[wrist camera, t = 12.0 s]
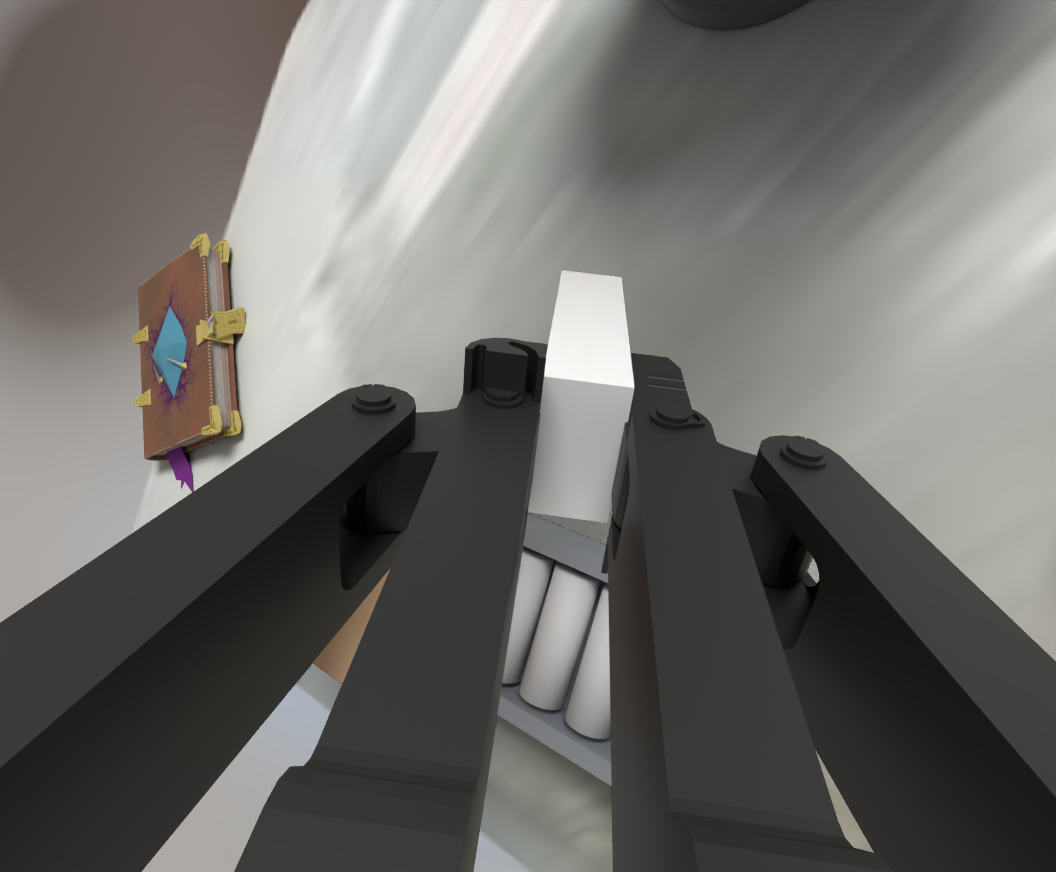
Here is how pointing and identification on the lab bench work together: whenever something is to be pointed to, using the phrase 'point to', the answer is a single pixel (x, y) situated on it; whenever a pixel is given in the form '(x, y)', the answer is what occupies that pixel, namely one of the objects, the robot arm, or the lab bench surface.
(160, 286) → the book
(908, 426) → the lab bench surface
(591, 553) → the roller bed
